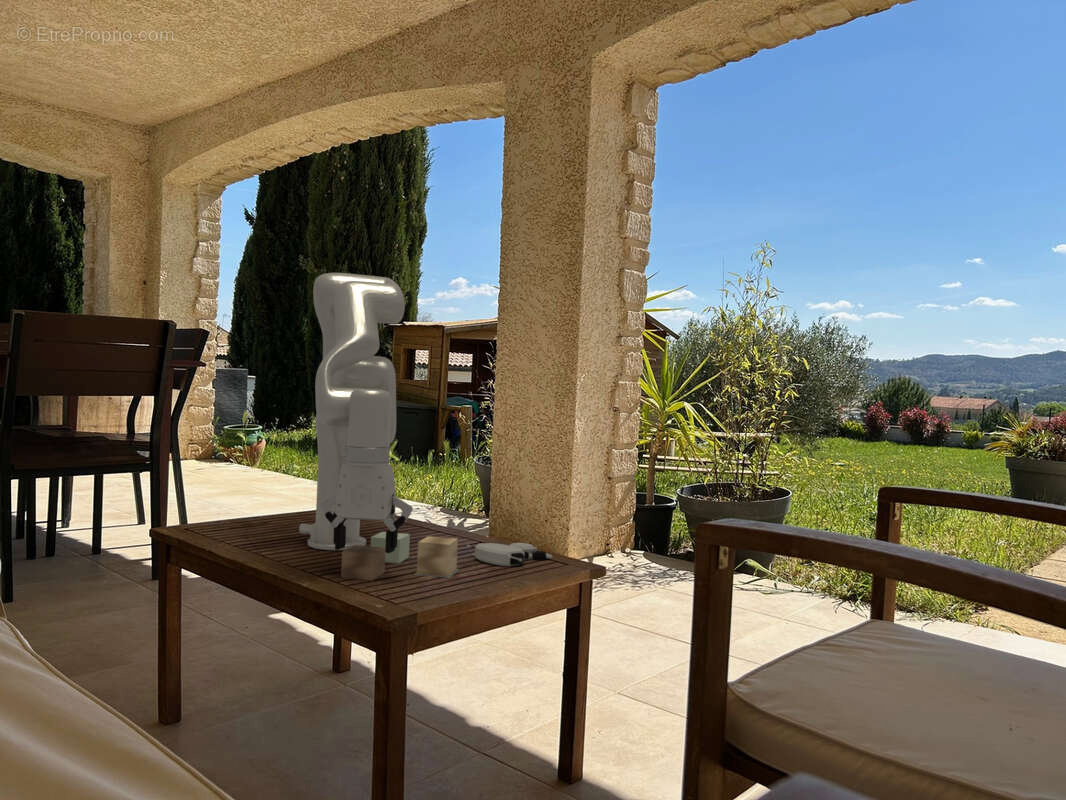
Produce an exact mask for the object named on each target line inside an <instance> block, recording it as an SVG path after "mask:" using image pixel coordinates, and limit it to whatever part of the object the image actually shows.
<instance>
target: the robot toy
mask: <svg viewBox="0 0 1066 800" xmlns="http://www.w3.org/2000/svg"><path fill="white" fill-rule="evenodd" d="M466 547H468V548H473V549H474V557H475V558H476V559H477V560H478V561H480V562H483V563H487V564H491V565H496V566H501V567H514V566H520V565H523V564H524V563H525V561H527V560H535V561H546V559H553V555H552V554H550V553H547V552H546V551H545V550H538V547H536V546H534V545H533V544H530V543H526V542H514V543H512V542H511V543H510V544H509V545H507V544H502V543H495V542H486V543H485V542H484V543H482V542H481V543H477V545H475V546H473V545H470V544H466Z"/></svg>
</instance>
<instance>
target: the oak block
mask: <svg viewBox="0 0 1066 800" xmlns="http://www.w3.org/2000/svg"><path fill="white" fill-rule="evenodd" d="M458 543H459V540H458V538H454V537H441V536H431V535H429V536H428V535H427V536H425V538H423V539H421V540H420V541H418V542H417V558H416V559H417V561H416V562H417V563H416V572H417V574H422V575H421V576H423V575H433V576H432V577H434V576H444V577H443V578H445V577H448V576H449V575H451V574H452V573H453V572H454V571H455V570H456V569H458V567H457V565H458V563H457V562H458V545H459V544H458Z"/></svg>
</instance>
